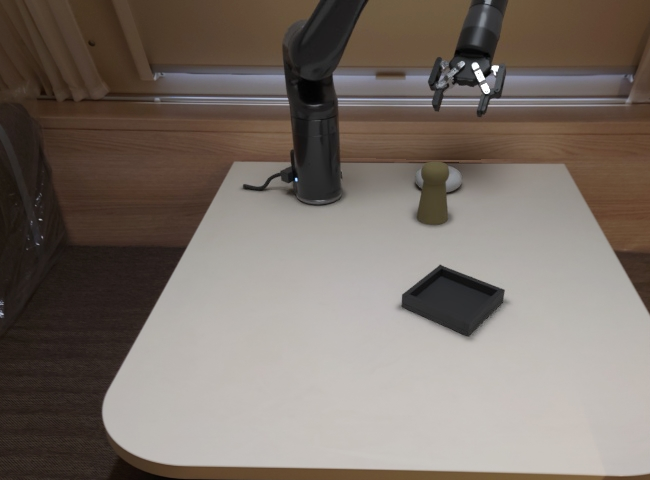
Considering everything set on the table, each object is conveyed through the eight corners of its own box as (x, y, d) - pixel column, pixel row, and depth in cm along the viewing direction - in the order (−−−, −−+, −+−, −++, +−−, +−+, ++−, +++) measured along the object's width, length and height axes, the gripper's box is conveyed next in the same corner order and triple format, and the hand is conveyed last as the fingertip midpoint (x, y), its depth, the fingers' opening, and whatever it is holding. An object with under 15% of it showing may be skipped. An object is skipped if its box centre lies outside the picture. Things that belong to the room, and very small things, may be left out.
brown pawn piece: (446, 226, 108) (450, 171, 102) (414, 223, 109) (417, 168, 103) (449, 211, 113) (453, 158, 107) (418, 209, 114) (421, 156, 108)
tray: (401, 306, 88) (401, 294, 86) (439, 276, 94) (440, 264, 93) (468, 336, 82) (469, 323, 80) (503, 301, 88) (505, 289, 87)
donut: (417, 175, 128) (412, 193, 120) (417, 160, 126) (413, 178, 118) (462, 178, 127) (460, 197, 118) (463, 163, 125) (462, 181, 117)
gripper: (441, 21, 111) (417, 98, 109) (514, 27, 106) (491, 107, 104) (447, 45, 118) (426, 117, 116) (516, 51, 113) (495, 126, 111)
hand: (457, 112), depth 110 cm, fingers open, 8 cm apart
